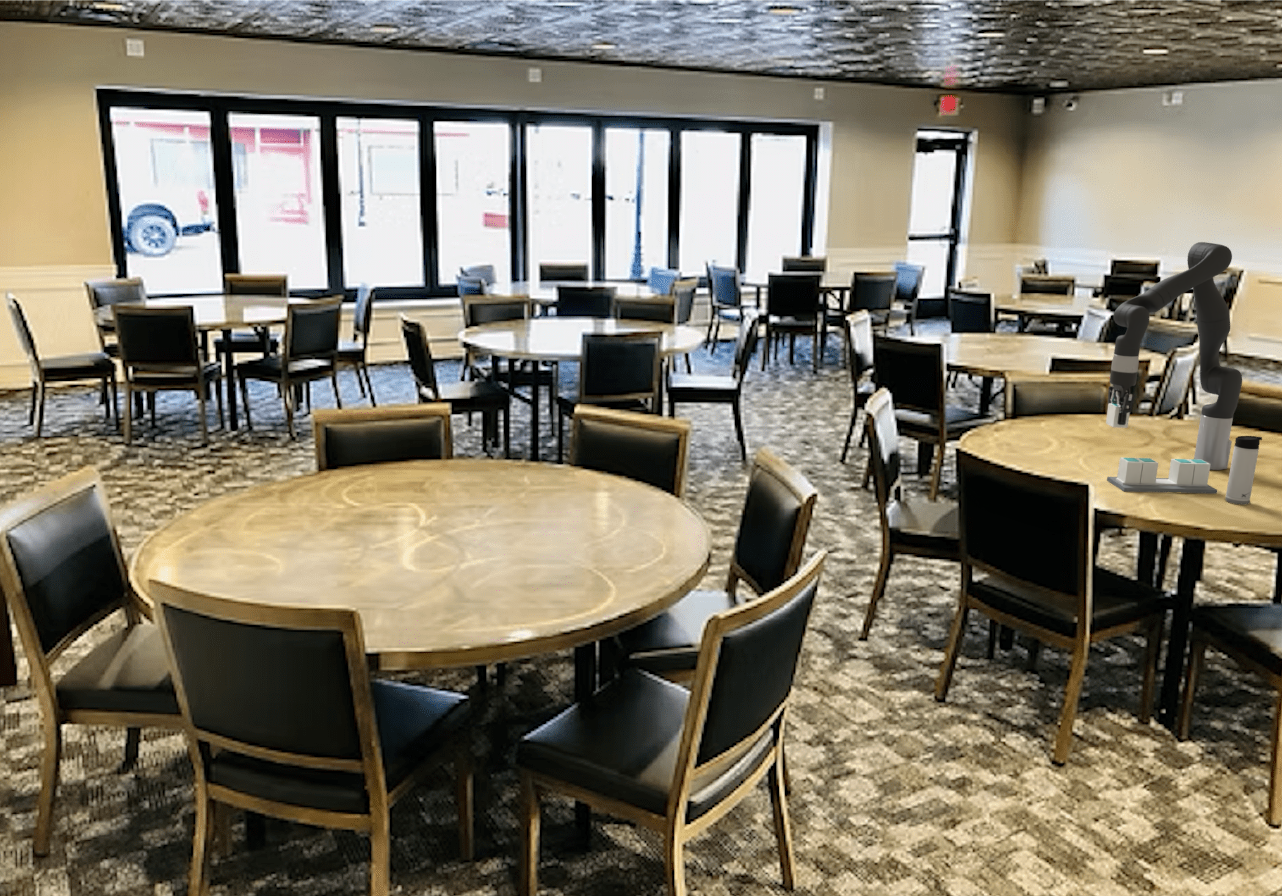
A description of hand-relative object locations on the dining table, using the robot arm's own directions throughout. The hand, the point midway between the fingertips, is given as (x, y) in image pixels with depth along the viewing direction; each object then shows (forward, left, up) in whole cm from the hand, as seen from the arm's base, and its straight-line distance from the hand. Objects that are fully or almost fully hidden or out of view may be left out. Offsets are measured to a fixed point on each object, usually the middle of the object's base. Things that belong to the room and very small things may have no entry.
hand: (1117, 422), depth 331 cm
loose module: (0, 0, -1) cm, 1 cm away
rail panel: (-10, +13, -17) cm, 24 cm away
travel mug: (-26, +27, -17) cm, 41 cm away
